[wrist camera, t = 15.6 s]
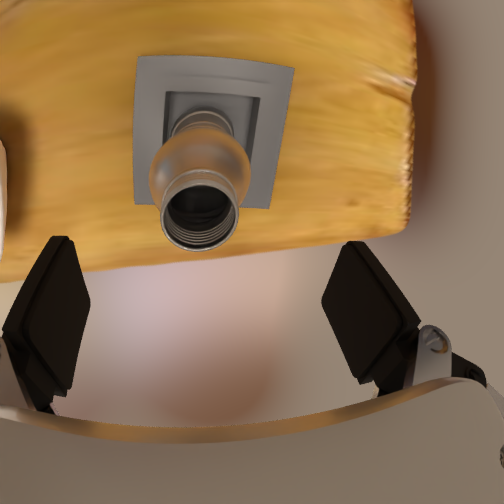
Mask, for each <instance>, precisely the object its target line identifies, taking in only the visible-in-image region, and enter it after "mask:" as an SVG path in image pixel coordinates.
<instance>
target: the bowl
mask: <svg viewBox="0 0 504 504" xmlns="http://www.w3.org/2000/svg"><path fill="white" fill-rule="evenodd" d="M6 215H7V163H6V151H5V148H4V146H3V145H2V142H1V140H0V261H1V257H2V253H3V249H4V237H5V226H6Z"/></svg>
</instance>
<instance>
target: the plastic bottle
mask: <svg viewBox="0 0 504 504" xmlns="http://www.w3.org/2000/svg"><path fill="white" fill-rule="evenodd" d="M250 178H251V168H250V163H249V159H248V156H247V154H246V153H245V151H244V149H243V148H242V146H241V145H240V144H239V143H238V142H237V141H236V139H235V138H234V128H233V125H232V122H231V121H230V119H229V118H228V116H227V115H226V114H225V113H223V112H222V111H220V110H218V109H216V108H213V107H208V106H201V107H196V108H193V109H190V110H188V111H187V112H185V113H183V114H182V115H181V116H180V117H179V118H178V119H177V121H176V122H175V123H174V126H173V128H172V130H171V134H170V139H169V140H168V141H167V142H166V143H165V144H164V145H163V146H162V147H161V148H160V149H159V151H158V152H157V154H156V155H155V157H154V159H153V161H152V164H151V166H150V172H149V187H150V191H151V195H152V199H153V201H154V203H155V205H156V207H157V208H158V209H159V211H160V212H161V213H160V221H161V226H162V230H163V232H164V234H165V236H166V237H167V238H168V239H169V241H171V242H172V243H173V244H174V245H176V246H177V247H179V248H181V249H184V250H187V251H194V252H202V251H207V250H211V249H214V248H216V247H218V246H220V245H222V244H223V243H224V242H226V241H227V240H228V239H229V238H230V236H231V235H232V234H233V232H234V231H235V229H236V226H237V223H238V217H239V210H238V207H239V206H240V205H241V203H242V201H243V200H244V198H245V196H246V193H247V190H248V187H249V184H250Z"/></svg>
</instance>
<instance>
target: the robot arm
mask: <svg viewBox="0 0 504 504" xmlns="http://www.w3.org/2000/svg"><path fill="white" fill-rule="evenodd" d="M321 301H322V302H321V303H322V307H323V309H324V312H325V314H326V316H327V318H328V320H329V322H330V325H331V326H332V329H333V331H334V334H335V336H336V338H337V340H338V343H339V345H340V347H341V349H342V352H343V354H344V356H345V359H346V361H347V363H348V366H349V368H350V370H351V373H352V375H353V376H354V377H355V378H357V380H358V382H359V384H360V385H361V384H365V383H369V382H372V381H373V380H374V382H375V388H374V391H373V394H372V397H371V400H367V401H364V402H360V403H357V404H353V405H349V406H346V407H342V408H338V409H333V410H329V411H325V412H320V413H315V414H311V415H305V416H300V417H294V418H289V419H282V420H276V421H269V422H262V423H253V424H243V425H233V426H232V425H231V426H216V427H188V428H187V427H186V428H185V427H184V428H182V427H181V428H179V427H172V428H171V427H144V426H130V425H119V424H109V423H102V422H94V421H87V420H81V419H74V418H68V417H63V416H60V415H59V413H58V412H57V410H56V408H55V406H54V404H53V396H54V395H57V396H62V397H66V395H67V389H71V387H72V382H73V377H74V372H75V366H76V362H77V357H78V353H79V348H80V344H81V340H82V336H83V332H84V328H85V325H86V320H87V317H88V314H89V310H90V297H89V294H88V291H87V288H86V285H85V282H84V279H83V275H82V272H81V268H80V265H79V261H78V257H77V253H76V249H75V245H74V242H73V241H72V240H69V238H68V236H52V237H51V238H50V239H49V241H48V242H47V244H46V246H45V247H44V249H43V250H42V252H41V254H40V255H39V257H38V259H37V260H36V262H35V264H34V265H33V267H32V269H31V271H30V272H29V274H28V276H27V278H26V280H25V282H24V283H23V285H22V287H21V289H20V291H19V293H18V295H17V297H16V299H15V301H14V303H13V305H12V307H11V309H10V312H9V314H8V316H7V318H6V321H5V323H4V325H3V327H2V331H3V335H2V337H0V504H504V398H503V397H502V396H501V395H500V394H499V393H498V392H497V391H496V390H495V389H494V388H493V387H492V386H491V385H490V384H489V383H488V384H486V378H485V374H484V372H483V370H482V369H481V368H479V367H478V366H477V365H475V364H473V363H471V362H470V361H467V360H466V359H464V358H462V357H460V356H458V355H456V354H455V353H453V352H452V351H451V350H452V348H451V343H450V340H449V338H448V337H447V335H446V334H445V333H444V332H443V331H442V330H441V329H439V328H438V327H436V326H433V325H425V326H423V327H422V328H421V329H420V330H419V329H418V327H417V326H418V325H419V324H420V322H421V320H420V319H419V317H418V315H417V314H416V312H415V311H414V309H413V308H412V306H411V305H410V303H409V302H408V300H407V299H406V297H405V296H404V295H403V293H402V292H401V290H400V289H399V288H398V286H397V285H396V283H395V282H394V281H393V279H392V278H391V276H390V275H389V274H388V272H387V271H386V270H385V268H384V267H383V266H382V264H381V263H380V262H379V260H378V259H377V258H376V256H375V255H374V254H373V253H372V252H371V250H370V249H369V248H368V246H367V245H366V244H365V243H364V242H362V241H348V242H347V243H346V245H344V246H342V248H341V251H340V254H339V256H338V259H337V262H336V264H335V267H334V269H333V272H332V274H331V277H330V279H329V282H328V284H327V287H326V289H325V291H324V294H323V296H322V300H321Z"/></svg>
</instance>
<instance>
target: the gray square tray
mask: <svg viewBox="0 0 504 504" xmlns="http://www.w3.org/2000/svg"><path fill="white" fill-rule="evenodd" d="M293 74H294V68H292V67H287V66H281V65H276V64H270V63H264V62H257V61H250V60H242V59H233V58H222V57H208V56H182V55H164V56H139V57H138V61H137V70H136V82H135V96H134V116H133V180H134V201H135V204H147V205H155V203H154V201H153V199H152V195H151V191H150V187H149V172H150V166H151V164H152V161H153V159H154V157H155V155H156V154H157V152H158V151H159V149H160V148H161V147H162V146H163V145H164V144H165V143H166V142H167V141H168V140H169V139H170V134H171V130H172V128H173V126H174V123H175V122H176V121H177V119H178V118H179V117H180V116H181V115H182V114H183V113H185V112H187V111H188V110H190V109H193V108H196V107H201V106H208V107H213V108H216V109H218V110H220V111H222V112H223V113H225V114H226V115H227V116H228V118H229V119H230V121H231V122H232V125H233V128H234V138H235V139H236V141H237V142H238V143H239V144H240V145H241V146H242V148H243V149H244V151H245V153H246V154H247V156H248V159H249V163H250V168H251V178H250V184H249V187H248V190H247V193H246V196H245V198H244V200H243V201H242V203H241V205H240V206H239V207H244V208H262V209H269V206H270V201H271V196H272V190H273V185H274V179H275V174H276V169H277V163H278V158H279V152H280V147H281V141H282V136H283V130H284V125H285V119H286V114H287V108H288V103H289V97H290V91H291V86H292V80H293Z"/></svg>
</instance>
